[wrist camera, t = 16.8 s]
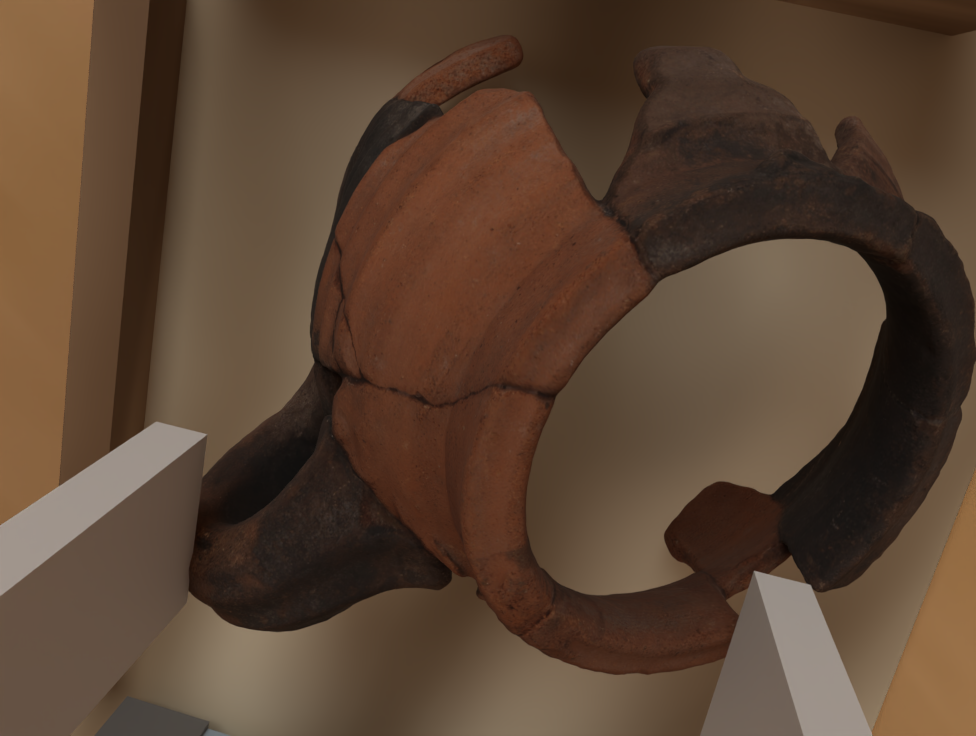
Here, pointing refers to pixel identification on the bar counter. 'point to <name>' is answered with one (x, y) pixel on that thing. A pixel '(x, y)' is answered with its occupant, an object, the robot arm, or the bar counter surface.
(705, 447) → the board
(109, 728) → the leg
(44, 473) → the bar counter surface
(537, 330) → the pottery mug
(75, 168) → the bar counter surface
